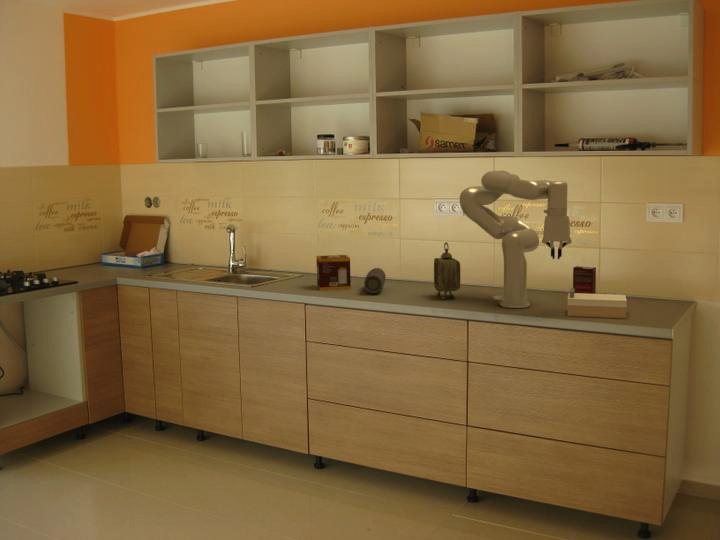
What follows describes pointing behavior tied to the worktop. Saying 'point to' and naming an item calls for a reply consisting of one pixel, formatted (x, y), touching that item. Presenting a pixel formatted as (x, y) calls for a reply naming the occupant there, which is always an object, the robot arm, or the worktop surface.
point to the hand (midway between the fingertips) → (556, 258)
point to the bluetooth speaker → (374, 280)
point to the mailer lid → (596, 299)
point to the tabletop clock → (446, 273)
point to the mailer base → (596, 311)
